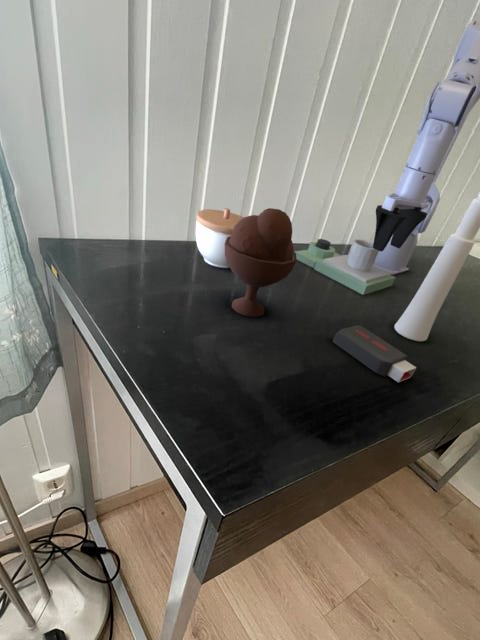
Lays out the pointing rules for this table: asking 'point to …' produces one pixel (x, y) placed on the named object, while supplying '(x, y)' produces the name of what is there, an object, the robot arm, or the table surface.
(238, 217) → the trinket box
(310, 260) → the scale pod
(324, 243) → the button
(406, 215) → the robot arm
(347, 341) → the usb drive
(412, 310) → the cosmetic bottle
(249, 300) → the ice cream bowl
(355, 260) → the grey cup
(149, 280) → the table surface
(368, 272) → the scale
